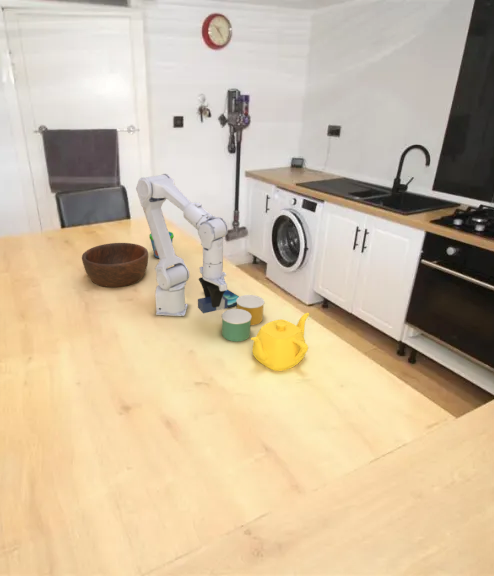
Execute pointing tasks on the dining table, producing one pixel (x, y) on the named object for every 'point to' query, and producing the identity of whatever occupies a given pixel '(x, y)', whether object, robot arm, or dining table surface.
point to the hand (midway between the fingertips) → (212, 303)
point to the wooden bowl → (115, 264)
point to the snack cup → (154, 244)
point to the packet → (206, 304)
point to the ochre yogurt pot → (251, 307)
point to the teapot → (280, 344)
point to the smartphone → (230, 298)
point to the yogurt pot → (236, 324)
